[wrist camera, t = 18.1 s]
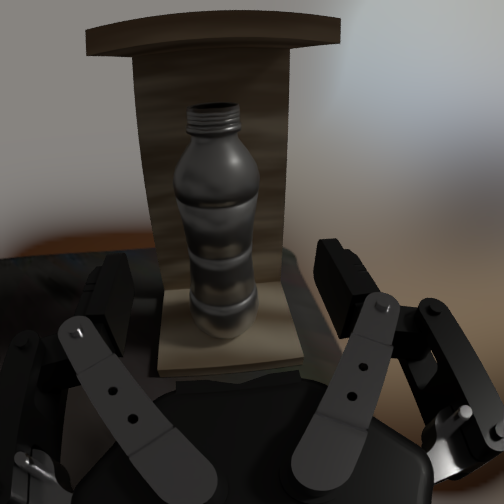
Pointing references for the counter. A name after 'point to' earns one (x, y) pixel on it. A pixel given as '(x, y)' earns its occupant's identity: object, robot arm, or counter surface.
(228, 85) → the cubby shelf
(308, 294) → the counter surface
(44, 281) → the counter surface
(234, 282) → the plastic bottle
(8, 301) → the counter surface
